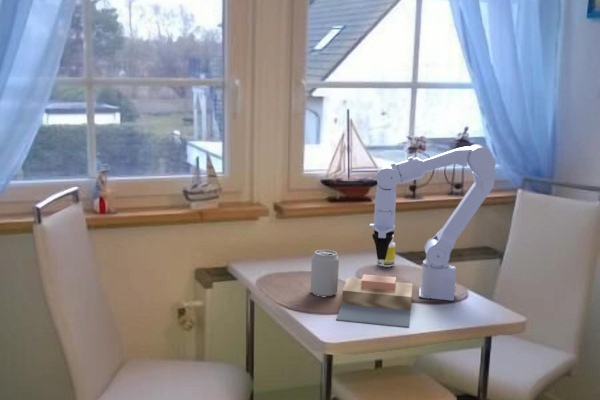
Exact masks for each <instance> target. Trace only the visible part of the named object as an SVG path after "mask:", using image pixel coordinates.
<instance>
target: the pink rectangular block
mask: <svg viewBox="0 0 600 400" xmlns="http://www.w3.org/2000/svg"><path fill="white" fill-rule="evenodd" d="M361 279H362V280H361V288H370V289H381V290H392V291H395V286H396V282H397V277H396V276H387V275H378V274H377V275H376V274H375V275H374V274H365V273H364V274H362V277H361Z"/></svg>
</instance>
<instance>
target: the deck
mask: <svg viewBox="0 0 600 400" xmlns="http://www.w3.org/2000/svg"><path fill="white" fill-rule="evenodd" d="M361 280H362V278H354V277H347V278H346V280H345V283H344V286H343V288H342V293H341V294H342V297H341V305H342V304H348V305H359V306H369V307H379V308H390V309H400V310H410V311H411V306H412V298H411V297H412V294H413V283H411V282H410V283H409V282H401V281H400V282H398V281H396V286H395V291H392V290H381V289H370V288H361Z"/></svg>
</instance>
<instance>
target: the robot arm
mask: <svg viewBox="0 0 600 400" xmlns="http://www.w3.org/2000/svg"><path fill="white" fill-rule="evenodd" d="M451 165H457V166H458V165H459V166H462V167H468V166H469V168H470V169H471V173H472V177H473V184H472V185H471V186H470V188H469V189H468V190H467V192H466V193H465V194H464V196H463V197H462V199H461V200H460V202H459V204H458V205H457V206H456V208H455V209H454V210H453V212H452V213H451V215H450V216H449V218H448V219H447V221H446V222H445V223H444V225H443V226H442V228H440V230H438V231H437V232H436V233H435V235H434V236H433V237H432V238H429V239H427V241H426V242H425V244H424V247H423V248H424V249H423V250H424V253H425V259H424V260H423V261H422V269H421V281H420V282H421V284H420V287H419V288H418V297H419V298H420V297H421V298H422V299H430V298H431V299H432V300H433V299H434V300H441V301H442V300H444V301H455V293H456V288H457V287H456V278H457V277H456V275H457V267H456V266H455V265H451V264H450V263H449V260H450V257H451V253H452V250H454V247H455V244H456V241H457V240H458V238H459V237H460V235H461V234H462V232H463V231H464V230H465V228H466V227H467V226H468V223H470V221H471V220H472V218H473V217H474V215H475V214H476V212H477V211H478V209H480V207H481V206H482V204H483V203H484V201H485V200H486V198H487V197H488V195H489V194H490V192H491V191H492V190H493V188H494V186H495V171H496V170H495V168H496V162H495V158H494V155H493V153H492V152H491V151H490V150H489V149H488V148H486V146H484V145H482V144H478V143H475V144H472V145H470V146H469V145H467V146H462V147H457V148H454V149H451V150H448V151H446V152H443V153H440V154H437V155H434V156H431V157H430V158H426V159H421V158H419V157H413V156H410V157H407V160H404V161H401V162H397V163H395V162H392V163H390V166H389V165H385V166H382V167H381V168H379V169H378V170H377V172H376V175H375V179H376V182H377V185H376V189H375V190H376V192H375V197H374V198H375V199H374V213H373V214H374V216H373V223H370V224H369V226H368V227H369V228H372V229H374V230H373V232H374V233H372V235H371V236H372V239H373V241H374V244H375V250H376V258H377V260H378V259H380V260H385V258H386V255H387V251H388V247H389V244H390V242H391V240H392V238H393V236H394V234H395V229H396V225H395V222H396V221H395V220H396V206H397V205H396V203H397V192H396V189H397V185H398V184H400V185H403V184H405V183H410V182H412V181H416V180H418V179H423V178H424V176H425V174H426V173H427V172H429V171H432V170H433V171H434V170H436V169H441V168H444V167H447V166H451ZM392 235H393V236H392Z"/></svg>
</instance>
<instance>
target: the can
mask: <svg viewBox="0 0 600 400" xmlns="http://www.w3.org/2000/svg"><path fill="white" fill-rule="evenodd" d="M339 264H340V258H339V256H338V253H337V251H334V250H331V249H318V250H315V251H314V254H313V255H312V256H311V271H310V272H311V273H310V289H309V290H310V292H311V293H312V294H313V295H314V294H315V295H314V296H316V295H319V296H331V297H333V296H332V295H334V296H335V294H337V293H338V287H339V270H340V269H339V268H340V267H339V266H340V265H339ZM319 296H318V297H319Z"/></svg>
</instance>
